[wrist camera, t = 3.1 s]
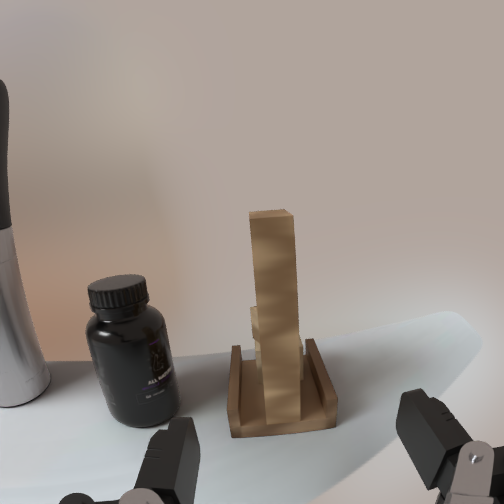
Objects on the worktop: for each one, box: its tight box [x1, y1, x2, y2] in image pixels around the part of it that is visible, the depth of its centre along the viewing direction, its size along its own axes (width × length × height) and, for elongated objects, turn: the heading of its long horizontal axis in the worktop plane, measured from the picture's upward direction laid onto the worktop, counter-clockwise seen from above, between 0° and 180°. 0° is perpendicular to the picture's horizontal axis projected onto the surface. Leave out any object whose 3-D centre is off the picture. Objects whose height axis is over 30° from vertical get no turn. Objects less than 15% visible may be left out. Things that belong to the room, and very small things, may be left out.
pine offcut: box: [255, 336, 304, 384], centre depth 28 cm, size 4×3×4 cm
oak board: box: [249, 209, 300, 425], centre depth 22 cm, size 2×4×15 cm, turn 1°
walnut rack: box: [227, 339, 338, 438], centre depth 26 cm, size 8×10×3 cm
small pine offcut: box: [250, 306, 260, 344], centre depth 28 cm, size 3×3×3 cm
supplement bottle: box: [86, 274, 180, 427], centre depth 25 cm, size 7×7×12 cm
